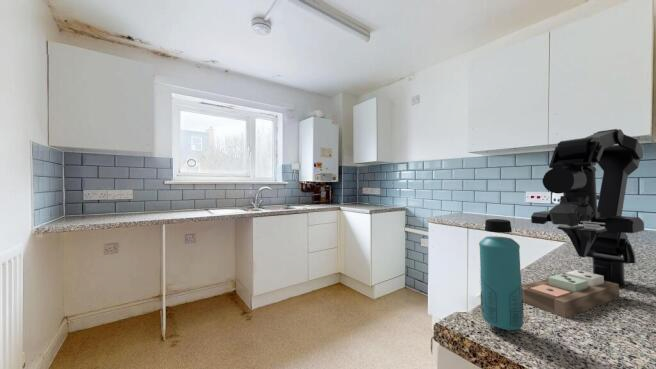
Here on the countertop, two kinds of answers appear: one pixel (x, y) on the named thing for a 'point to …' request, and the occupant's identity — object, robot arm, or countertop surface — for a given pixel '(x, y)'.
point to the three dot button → (568, 282)
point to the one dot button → (550, 291)
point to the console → (570, 298)
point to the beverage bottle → (501, 278)
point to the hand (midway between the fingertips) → (582, 256)
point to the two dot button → (587, 277)
